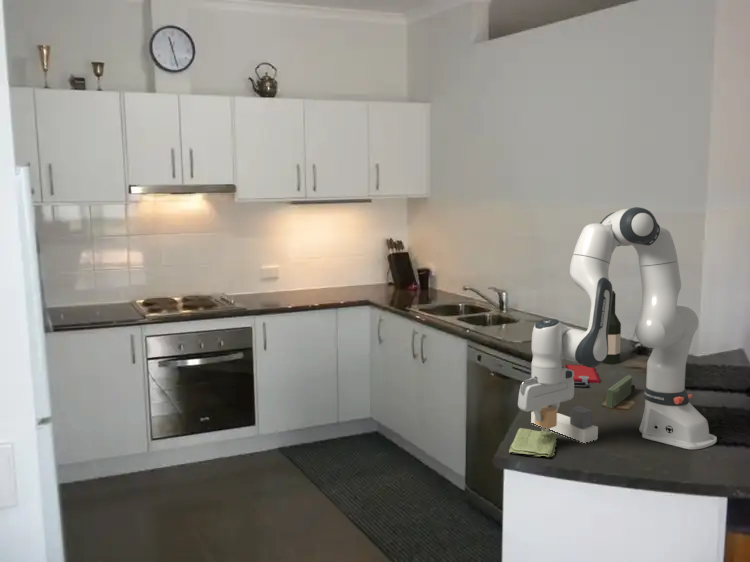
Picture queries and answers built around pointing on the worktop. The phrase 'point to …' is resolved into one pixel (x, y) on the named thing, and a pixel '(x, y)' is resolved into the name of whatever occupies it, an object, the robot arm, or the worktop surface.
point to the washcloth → (534, 443)
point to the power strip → (572, 429)
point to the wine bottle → (613, 336)
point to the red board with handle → (583, 375)
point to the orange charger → (547, 418)
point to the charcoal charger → (581, 417)
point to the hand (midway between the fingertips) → (546, 419)
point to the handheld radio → (619, 391)
